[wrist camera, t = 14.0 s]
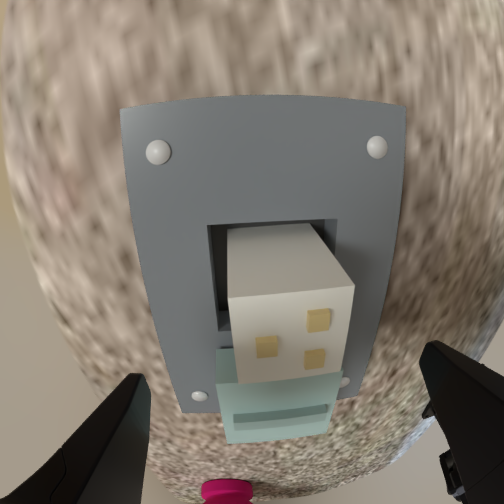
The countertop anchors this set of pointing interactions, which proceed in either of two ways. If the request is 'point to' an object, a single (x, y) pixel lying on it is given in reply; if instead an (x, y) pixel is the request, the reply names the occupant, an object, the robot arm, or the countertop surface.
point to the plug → (286, 303)
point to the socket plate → (258, 211)
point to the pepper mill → (227, 492)
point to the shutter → (273, 404)
